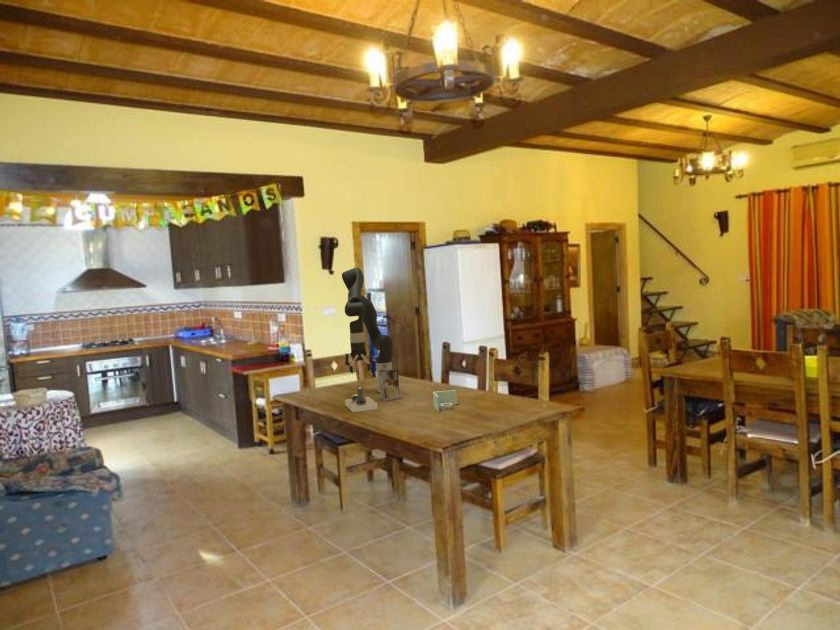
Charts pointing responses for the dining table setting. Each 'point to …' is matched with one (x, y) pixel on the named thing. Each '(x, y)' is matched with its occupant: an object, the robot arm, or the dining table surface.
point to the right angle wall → (444, 399)
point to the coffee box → (389, 384)
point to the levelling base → (360, 404)
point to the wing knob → (360, 395)
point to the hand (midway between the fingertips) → (359, 372)
